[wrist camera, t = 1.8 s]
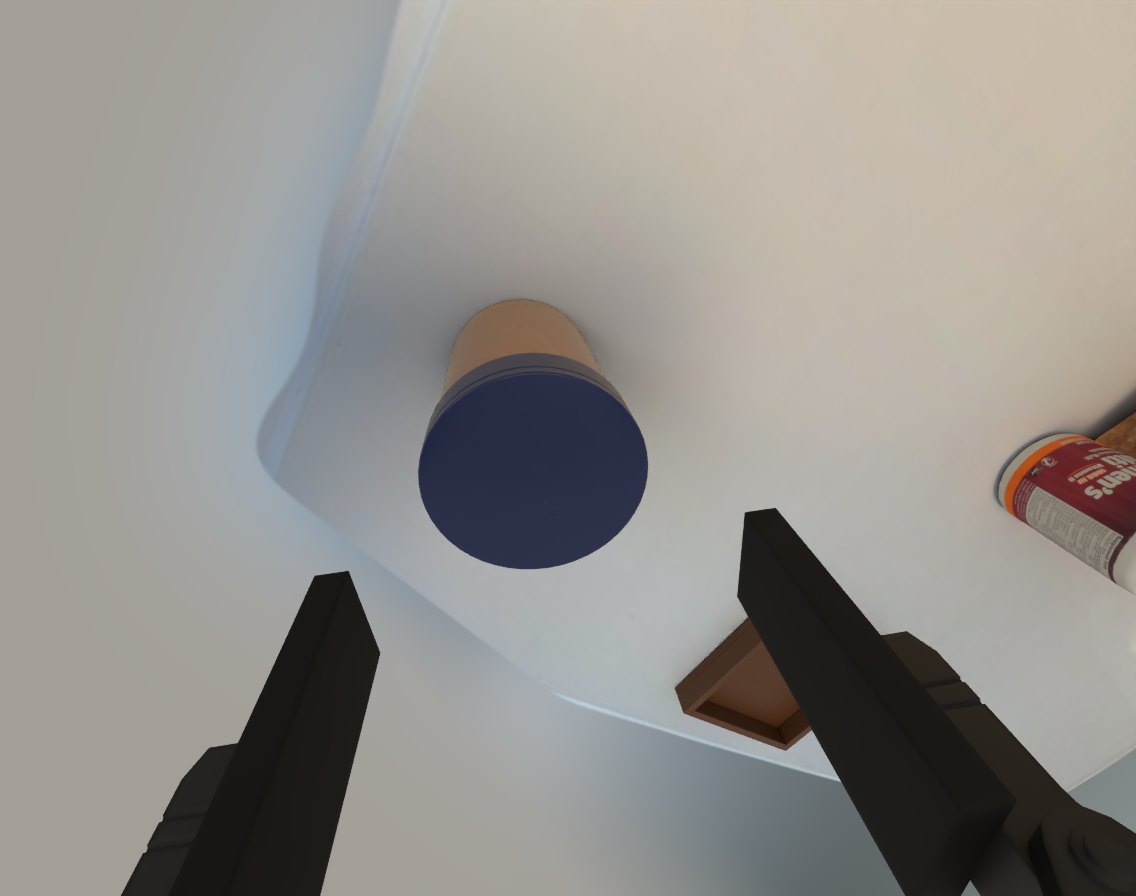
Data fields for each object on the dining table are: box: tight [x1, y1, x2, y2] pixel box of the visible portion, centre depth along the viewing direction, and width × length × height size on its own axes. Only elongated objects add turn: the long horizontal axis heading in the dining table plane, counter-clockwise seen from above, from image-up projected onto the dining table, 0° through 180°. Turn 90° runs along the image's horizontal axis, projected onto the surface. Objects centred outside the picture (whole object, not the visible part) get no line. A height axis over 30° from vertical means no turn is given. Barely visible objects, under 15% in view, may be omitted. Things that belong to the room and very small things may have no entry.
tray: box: [675, 618, 812, 751], centre depth 39 cm, size 11×11×2 cm
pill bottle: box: [998, 433, 1136, 595], centre depth 29 cm, size 6×6×11 cm
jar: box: [440, 300, 606, 400], centre depth 22 cm, size 7×7×10 cm
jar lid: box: [418, 353, 648, 569], centre depth 17 cm, size 8×7×2 cm
